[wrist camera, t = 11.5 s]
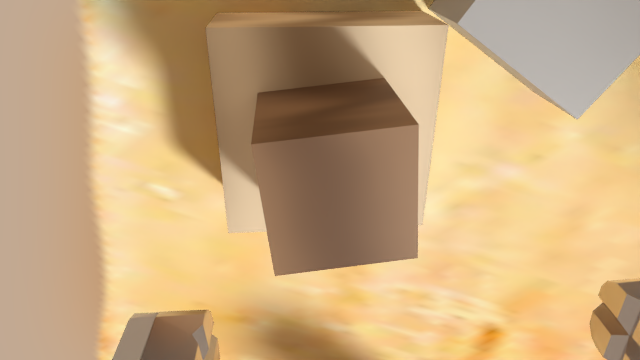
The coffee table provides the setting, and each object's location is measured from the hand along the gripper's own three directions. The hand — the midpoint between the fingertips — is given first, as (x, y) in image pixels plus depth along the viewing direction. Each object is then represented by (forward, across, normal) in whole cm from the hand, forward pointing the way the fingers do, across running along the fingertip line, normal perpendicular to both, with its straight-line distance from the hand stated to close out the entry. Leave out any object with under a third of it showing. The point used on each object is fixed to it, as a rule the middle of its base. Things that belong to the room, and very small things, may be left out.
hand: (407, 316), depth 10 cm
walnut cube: (+10, +1, +1) cm, 11 cm away
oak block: (+14, +1, +1) cm, 15 cm away
